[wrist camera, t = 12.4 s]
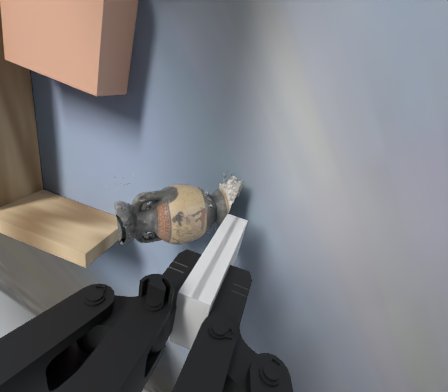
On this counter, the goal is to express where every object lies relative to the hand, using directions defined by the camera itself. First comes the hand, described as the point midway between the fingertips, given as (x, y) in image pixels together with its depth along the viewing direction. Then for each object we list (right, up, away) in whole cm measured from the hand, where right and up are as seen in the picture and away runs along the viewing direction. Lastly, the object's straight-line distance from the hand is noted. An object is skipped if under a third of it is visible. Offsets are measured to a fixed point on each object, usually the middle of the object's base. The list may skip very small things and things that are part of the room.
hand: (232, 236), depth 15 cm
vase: (-2, +2, +2) cm, 4 cm away
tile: (-8, +13, 0) cm, 15 cm away
